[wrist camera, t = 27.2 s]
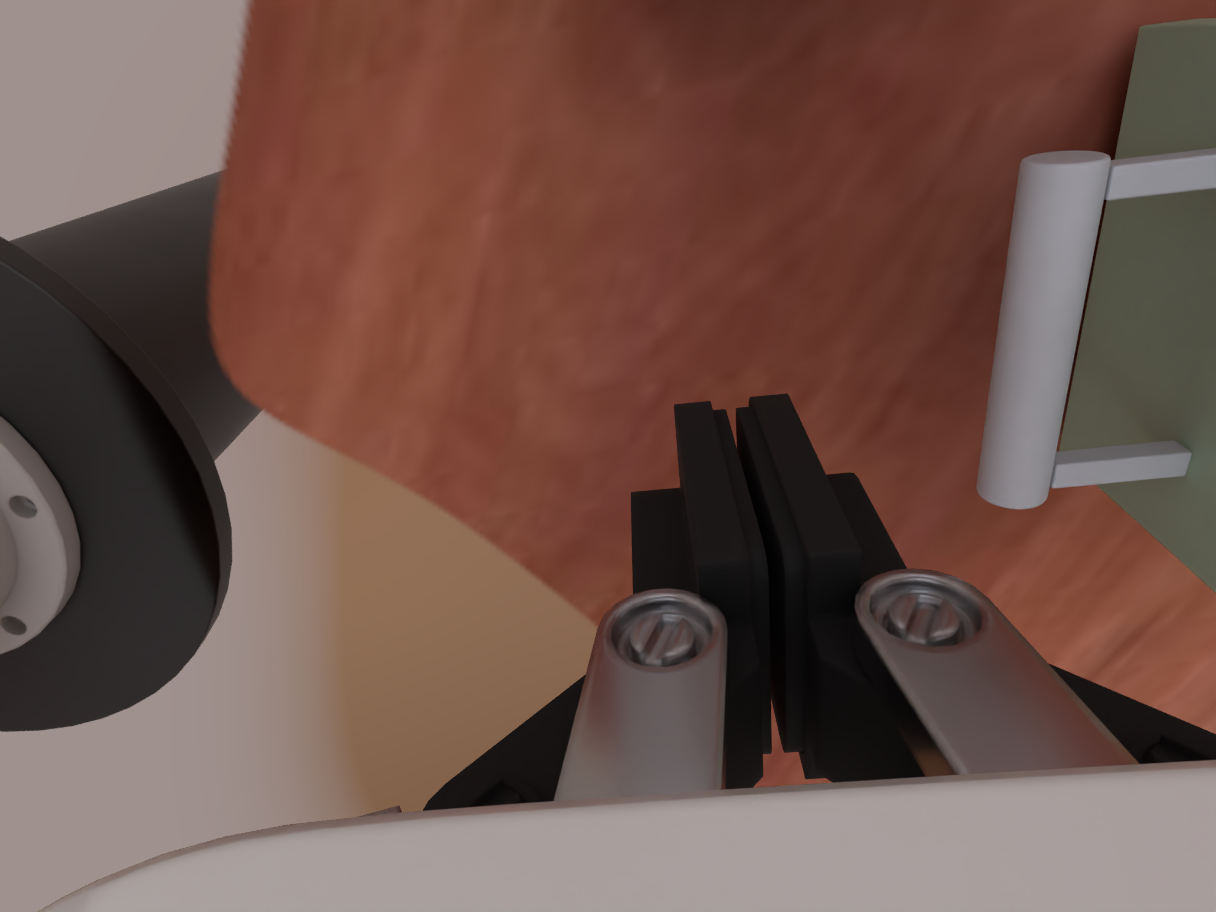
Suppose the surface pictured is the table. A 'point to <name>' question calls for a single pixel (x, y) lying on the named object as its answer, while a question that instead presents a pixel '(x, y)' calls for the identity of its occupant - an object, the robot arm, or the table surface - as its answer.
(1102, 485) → the drawer
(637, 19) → the table surface
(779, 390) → the table surface
